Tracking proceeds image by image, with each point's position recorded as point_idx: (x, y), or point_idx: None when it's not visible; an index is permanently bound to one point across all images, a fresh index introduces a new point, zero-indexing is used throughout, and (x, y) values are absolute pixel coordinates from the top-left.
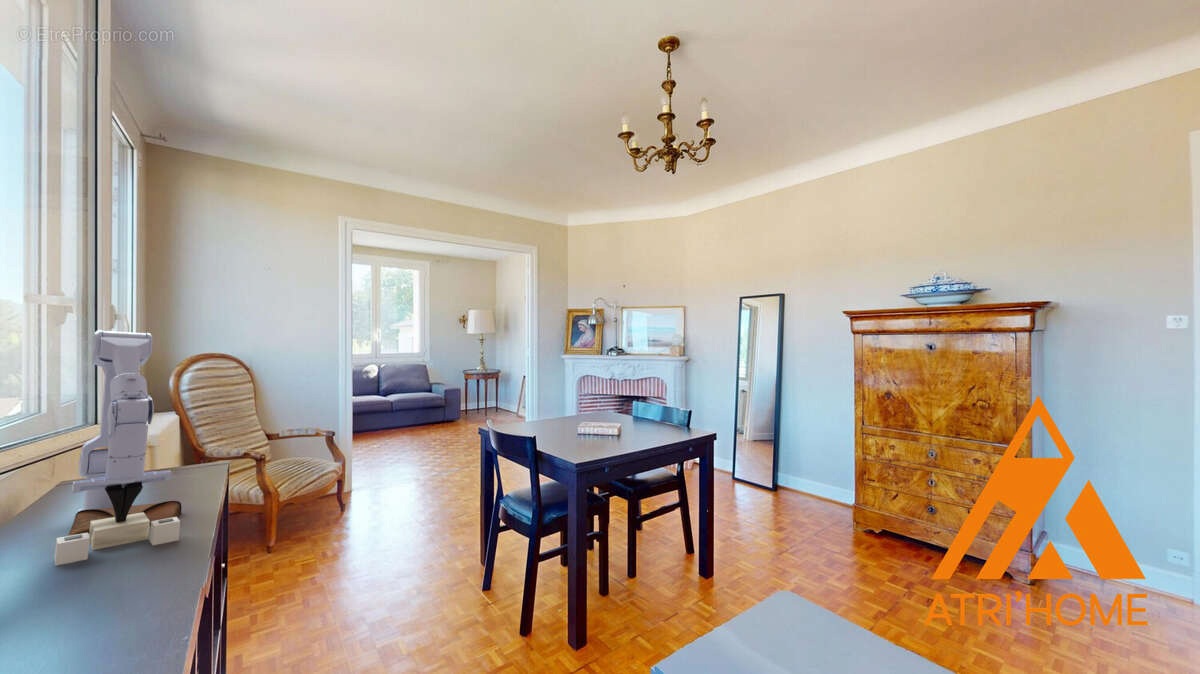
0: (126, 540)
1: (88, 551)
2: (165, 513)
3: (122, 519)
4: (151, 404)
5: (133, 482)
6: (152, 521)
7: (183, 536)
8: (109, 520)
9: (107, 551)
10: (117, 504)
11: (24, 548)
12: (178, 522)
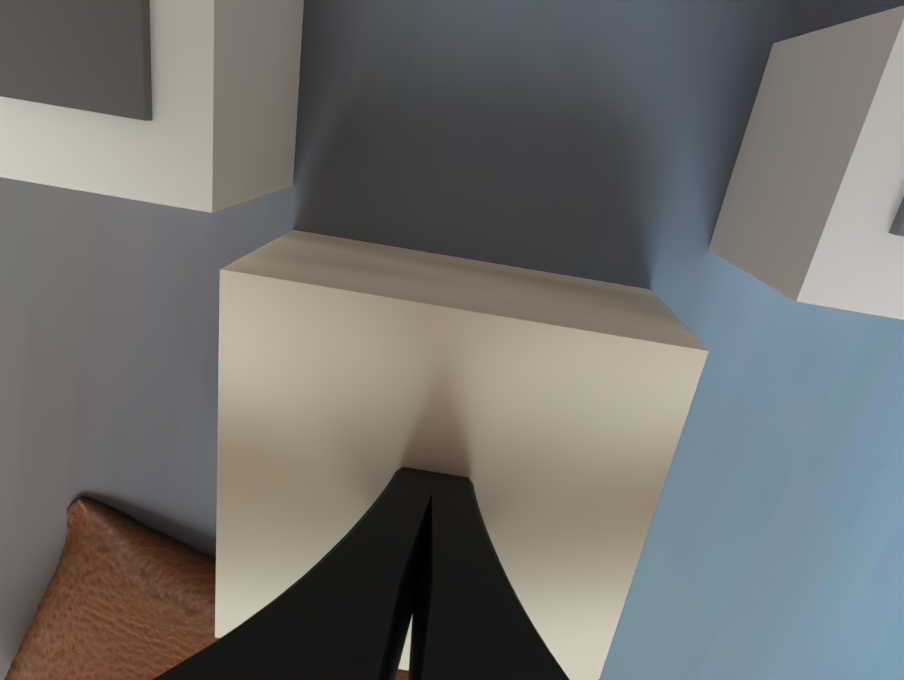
0: (437, 261)
1: (808, 37)
2: (87, 635)
3: (426, 476)
4: None
5: None
6: (201, 188)
7: None
8: None
9: (600, 140)
10: (492, 620)
11: (857, 672)
12: None
